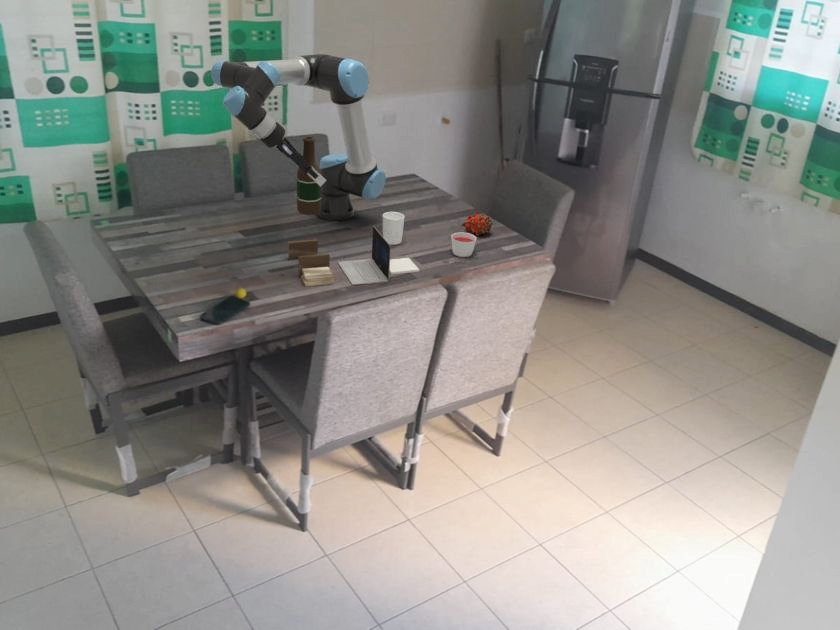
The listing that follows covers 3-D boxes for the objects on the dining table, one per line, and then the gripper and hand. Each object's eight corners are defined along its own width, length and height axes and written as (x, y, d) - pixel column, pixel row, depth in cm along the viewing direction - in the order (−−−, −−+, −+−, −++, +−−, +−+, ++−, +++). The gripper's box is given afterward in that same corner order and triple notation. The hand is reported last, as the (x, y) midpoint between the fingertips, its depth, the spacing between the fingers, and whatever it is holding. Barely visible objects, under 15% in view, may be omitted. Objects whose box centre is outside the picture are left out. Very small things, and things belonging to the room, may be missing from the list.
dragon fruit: (493, 238, 301) (462, 242, 301) (489, 219, 305) (458, 223, 304) (495, 226, 294) (464, 230, 293) (491, 207, 297) (460, 211, 296)
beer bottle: (311, 205, 259) (311, 133, 248) (326, 212, 255) (326, 139, 243) (291, 209, 254) (291, 136, 243) (306, 217, 250) (306, 142, 238)
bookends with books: (288, 258, 269) (288, 239, 266) (316, 255, 272) (316, 236, 269) (304, 286, 251) (304, 266, 247) (335, 283, 254) (335, 263, 251)
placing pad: (381, 262, 271) (381, 260, 271) (408, 259, 274) (408, 257, 274) (391, 274, 263) (391, 272, 262) (419, 271, 266) (419, 269, 266)
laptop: (337, 263, 268) (338, 228, 262) (372, 260, 273) (374, 225, 266) (352, 286, 254) (353, 249, 248) (389, 282, 258) (391, 246, 252)
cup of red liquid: (477, 258, 280) (479, 242, 277) (452, 258, 278) (454, 242, 275) (471, 248, 287) (473, 232, 284) (447, 248, 286) (449, 232, 283)
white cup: (400, 246, 284) (401, 220, 280) (379, 243, 285) (380, 217, 281) (405, 238, 291) (406, 213, 286) (384, 235, 292) (385, 210, 288)
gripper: (252, 130, 246) (303, 177, 259) (266, 149, 230) (319, 198, 243) (269, 112, 245) (319, 161, 259) (284, 130, 229) (336, 180, 242)
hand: (319, 179), depth 251 cm, fingers closed on beer bottle, 7 cm apart
